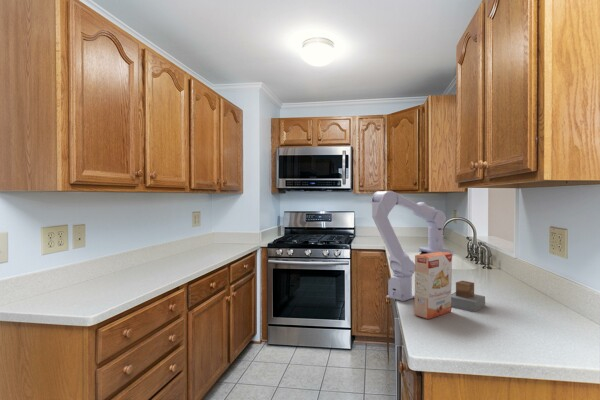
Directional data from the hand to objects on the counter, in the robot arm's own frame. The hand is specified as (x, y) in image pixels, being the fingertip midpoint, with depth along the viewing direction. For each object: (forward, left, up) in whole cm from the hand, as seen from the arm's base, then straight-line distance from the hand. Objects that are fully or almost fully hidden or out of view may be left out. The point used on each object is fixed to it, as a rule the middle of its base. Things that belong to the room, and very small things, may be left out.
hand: (435, 271), depth 150 cm
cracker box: (-24, -13, -10) cm, 29 cm away
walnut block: (-7, -16, -6) cm, 18 cm away
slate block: (-7, -16, -10) cm, 20 cm away
